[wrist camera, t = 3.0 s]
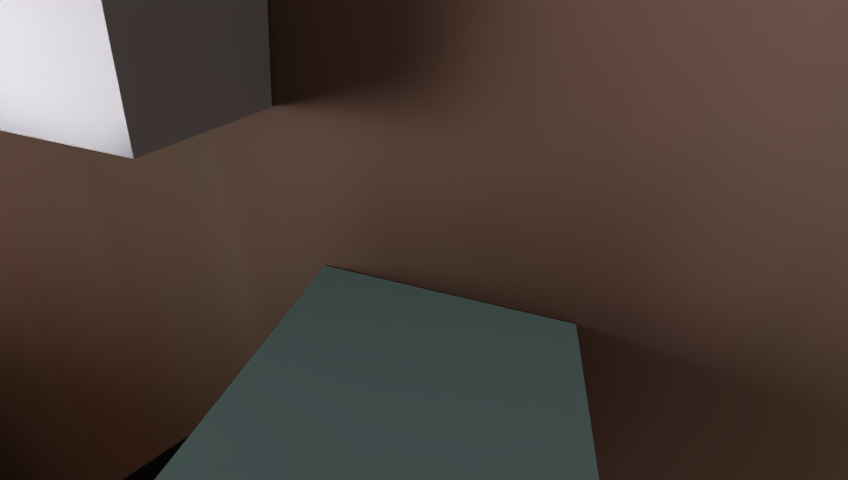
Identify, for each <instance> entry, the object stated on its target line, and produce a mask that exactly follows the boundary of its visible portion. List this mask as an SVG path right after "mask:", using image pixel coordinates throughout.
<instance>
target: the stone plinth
mask: <svg viewBox="0 0 848 480" xmlns="http://www.w3.org/2000/svg"><path fill="white" fill-rule="evenodd" d="M269 107H272V99H271V75H270V51H269V27H268V3H267V0H0V130H1V131H5V132H10V133H15V134H19V135H24V136H29V137H33V138H38V139H43V140H48V141H52V142H57V143H62V144H66V145H71V146H76V147H80V148H85V149H90V150H94V151H99V152H104V153H108V154H113V155H118V156H122V157H127V158H132V159H135V158H137V157H140V156H143V155H145V154H148V153H151V152H153V151H156V150H159V149H161V148H164V147H166V146H169V145H172V144H174V143H177V142H180V141H182V140H185V139H188V138H190V137H193V136H195V135H198V134H201V133H203V132H206V131H209V130H211V129H214V128H217V127H219V126H222V125H224V124H227V123H230V122H232V121H235V120H238V119H240V118H243V117H246V116H248V115H251V114H254V113H256V112H259V111H261V110H264V109H267V108H269Z"/></svg>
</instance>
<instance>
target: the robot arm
mask: <svg viewBox="0 0 848 480" xmlns="http://www.w3.org/2000/svg"><path fill="white" fill-rule="evenodd" d="M189 436H190V435H189ZM189 436H187V437H186V438H184V439H183V440H181V441H180V442H178V443H177V444H175V445H174V446H172V447H171V448H169V449H168V450H166V451H165V452H163V453H162V454H160V455H159V456H157V457H156V458H154V459H153V460H151V461H150V462H148V463H147V464H145V465H144V466H142V467H141V468H139V469H138V470H136V471H135V472H133V473H132V474H130V475H129V476H127V477H126V478H124V479H123V480H155V478H156V477H157V476H158V475H159V473H160V472H161V471H162V470H163V468H164V467H165V466H166V465H167V463H168V462H169V461H170V460H171V458H172V457H173V456H174V455H175V453H176V452H177V451H178V449H179V448H180V447H181V446H182V444H183V443H184V442H185V441H186V439H187V438H188V437H189Z"/></svg>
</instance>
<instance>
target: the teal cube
mask: <svg viewBox="0 0 848 480" xmlns="http://www.w3.org/2000/svg"><path fill="white" fill-rule="evenodd" d="M155 480H599V475H598V468H597V461H596V455H595V448H594V441H593V435H592V428H591V421H590V414H589V408H588V401H587V394H586V388H585V381H584V374H583V368H582V361H581V354H580V348H579V341H578V334H577V327H576V324H573V323H569V322H564V321H560V320H556V319H552V318H547V317H543V316H539V315H535V314H530V313H526V312H522V311H517V310H513V309H509V308H505V307H500V306H496V305H492V304H488V303H483V302H479V301H475V300H470V299H466V298H462V297H458V296H453V295H449V294H445V293H440V292H436V291H432V290H428V289H423V288H419V287H415V286H411V285H406V284H402V283H398V282H393V281H389V280H385V279H381V278H376V277H372V276H368V275H363V274H359V273H355V272H351V271H346V270H342V269H338V268H334V267H329V266H324V267H323V269H322V270H321V271H320V272H319V274H318V275H317V276H316V277H315V279H314V280H313V281H312V282H311V284H310V285H309V286H308V287H307V289H306V290H305V291H304V292H303V294H302V295H301V296H300V297H299V299H298V300H297V301H296V302H295V304H294V305H293V306H292V307H291V309H290V310H289V311H288V313H287V314H286V315H285V316H284V318H283V319H282V320H281V321H280V323H279V324H278V325H277V326H276V328H275V329H274V330H273V331H272V333H271V334H270V335H269V336H268V338H267V339H266V340H265V341H264V343H263V344H262V345H261V346H260V348H259V349H258V350H257V351H256V353H255V354H254V355H253V357H252V358H251V359H250V360H249V362H248V363H247V364H246V365H245V367H244V368H243V369H242V370H241V372H240V373H239V374H238V375H237V377H236V378H235V379H234V380H233V382H232V383H231V384H230V385H229V387H228V388H227V389H226V390H225V392H224V393H223V394H222V395H221V397H220V398H219V399H218V400H217V402H216V403H215V404H214V406H213V407H212V408H211V409H210V411H209V412H208V413H207V414H206V416H205V417H204V418H203V419H202V421H201V422H200V423H199V424H198V426H197V427H196V428H195V429H194V431H193V432H192V433H191V434H190V436H189V437H188V438H187V439H186V441H185V442H184V443H183V444H182V446H181V447H180V448H179V449H178V451H177V452H176V453H175V455H174V456H173V457H172V458H171V460H170V461H169V462H168V463H167V465H166V466H165V467H164V468H163V470H162V471H161V472H160V473H159V475H158V476H157V477H156V478H155Z"/></svg>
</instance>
